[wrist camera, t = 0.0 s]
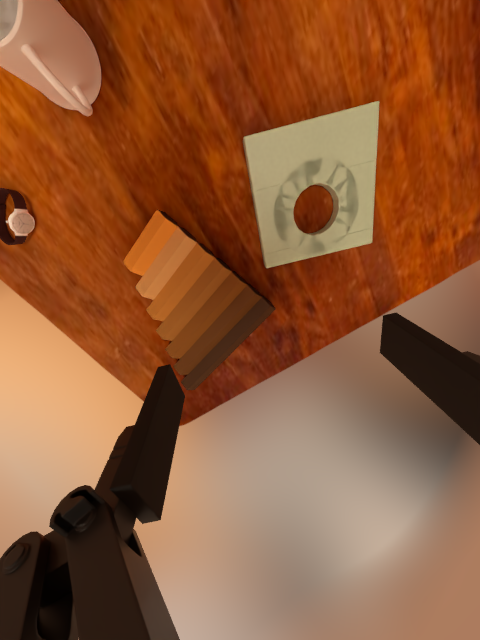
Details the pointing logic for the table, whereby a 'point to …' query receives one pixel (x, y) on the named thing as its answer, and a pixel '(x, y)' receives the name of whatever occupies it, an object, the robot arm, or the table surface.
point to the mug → (50, 52)
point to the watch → (15, 218)
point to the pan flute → (193, 298)
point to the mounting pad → (314, 182)
